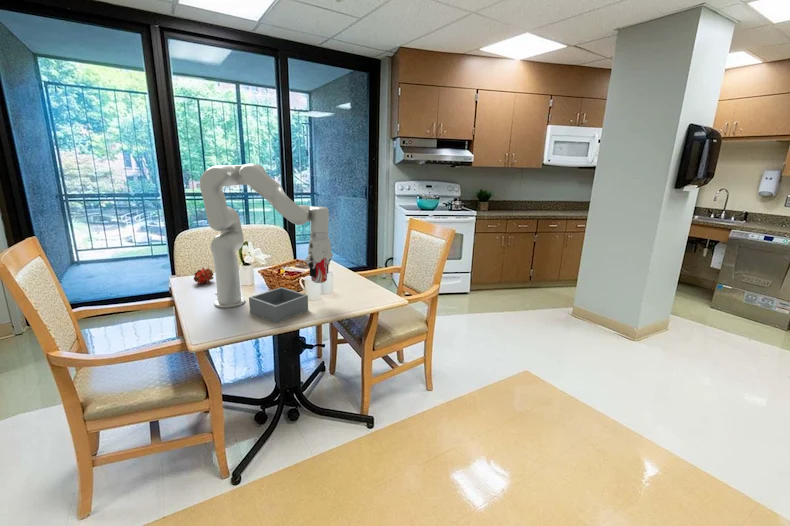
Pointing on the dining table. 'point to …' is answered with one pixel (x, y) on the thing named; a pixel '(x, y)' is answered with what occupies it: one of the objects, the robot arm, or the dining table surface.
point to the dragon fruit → (203, 276)
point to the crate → (278, 304)
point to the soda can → (320, 271)
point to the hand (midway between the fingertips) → (319, 274)
